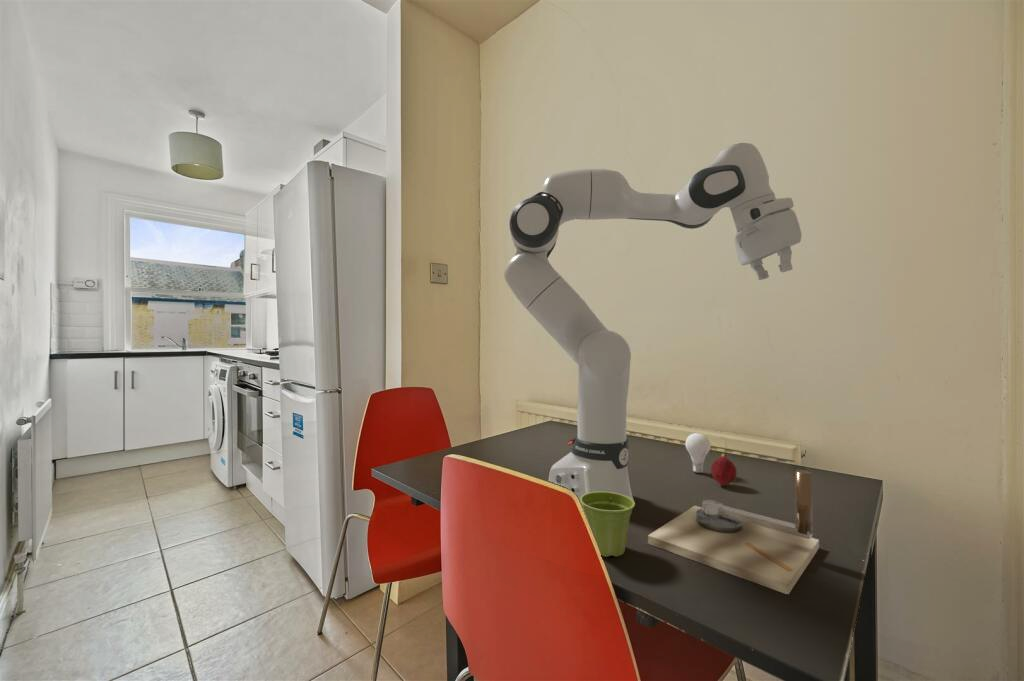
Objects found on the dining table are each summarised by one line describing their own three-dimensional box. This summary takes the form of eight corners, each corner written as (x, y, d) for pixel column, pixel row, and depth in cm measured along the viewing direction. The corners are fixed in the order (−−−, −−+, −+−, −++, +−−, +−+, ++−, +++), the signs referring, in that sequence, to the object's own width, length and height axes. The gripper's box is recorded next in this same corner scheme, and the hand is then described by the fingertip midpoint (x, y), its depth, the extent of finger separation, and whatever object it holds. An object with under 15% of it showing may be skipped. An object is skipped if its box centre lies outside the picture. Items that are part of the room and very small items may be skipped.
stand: (647, 543, 78) (647, 534, 78) (694, 512, 92) (694, 504, 92) (788, 594, 63) (788, 583, 63) (819, 548, 76) (819, 538, 76)
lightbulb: (681, 469, 122) (681, 431, 122) (702, 469, 123) (702, 430, 123) (692, 477, 116) (692, 436, 116) (715, 476, 117) (715, 435, 117)
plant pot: (596, 532, 83) (595, 487, 83) (643, 547, 77) (643, 498, 77) (570, 551, 76) (570, 501, 76) (620, 569, 70) (620, 515, 70)
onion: (739, 490, 106) (739, 457, 106) (714, 489, 107) (714, 456, 107) (732, 482, 111) (732, 451, 111) (708, 481, 112) (708, 450, 112)
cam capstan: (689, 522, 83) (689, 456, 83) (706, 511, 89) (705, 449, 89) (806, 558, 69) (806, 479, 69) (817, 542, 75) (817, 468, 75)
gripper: (722, 233, 107) (739, 286, 106) (765, 204, 86) (786, 270, 86) (748, 225, 106) (764, 279, 106) (797, 195, 86) (818, 261, 85)
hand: (774, 275), depth 95 cm, fingers open, 8 cm apart
